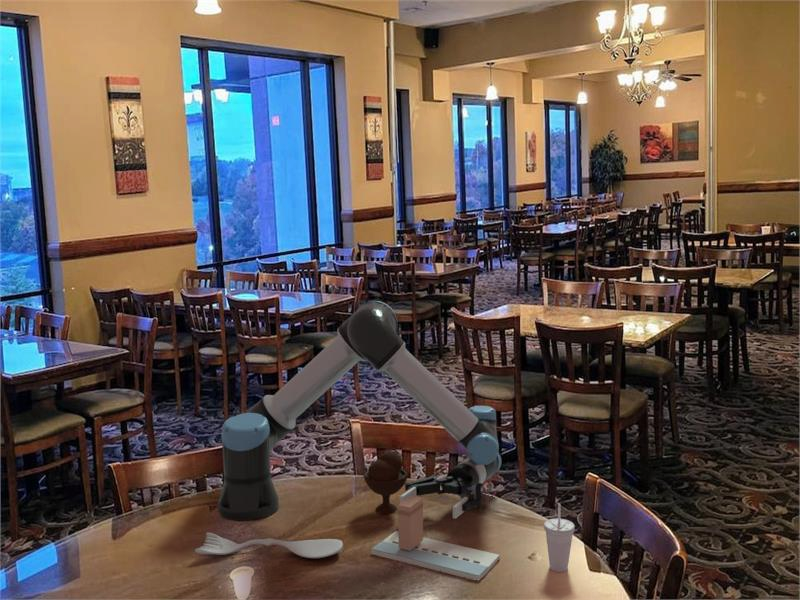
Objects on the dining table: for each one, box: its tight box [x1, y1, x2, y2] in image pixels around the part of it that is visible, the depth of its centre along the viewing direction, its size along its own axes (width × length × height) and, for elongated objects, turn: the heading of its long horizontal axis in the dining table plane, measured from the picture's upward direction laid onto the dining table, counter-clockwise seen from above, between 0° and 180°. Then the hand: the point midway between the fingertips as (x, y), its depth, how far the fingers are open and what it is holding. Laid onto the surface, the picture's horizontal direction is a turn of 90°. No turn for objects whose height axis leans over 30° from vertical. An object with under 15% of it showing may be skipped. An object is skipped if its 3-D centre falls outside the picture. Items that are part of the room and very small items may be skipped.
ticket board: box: [371, 530, 501, 582], centre depth 174 cm, size 26×11×1 cm, turn 60°
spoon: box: [194, 532, 344, 559], centre depth 177 cm, size 9×32×4 cm, turn 87°
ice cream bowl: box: [363, 450, 409, 515], centre depth 199 cm, size 11×11×15 cm
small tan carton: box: [397, 496, 424, 551], centre depth 176 cm, size 3×6×10 cm, turn 150°
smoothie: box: [543, 503, 576, 573], centre depth 167 cm, size 6×6×14 cm
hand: (427, 507), depth 183 cm, fingers open, 13 cm apart
